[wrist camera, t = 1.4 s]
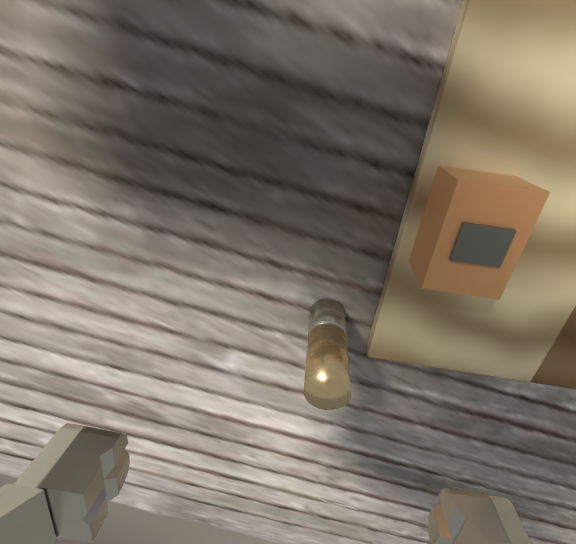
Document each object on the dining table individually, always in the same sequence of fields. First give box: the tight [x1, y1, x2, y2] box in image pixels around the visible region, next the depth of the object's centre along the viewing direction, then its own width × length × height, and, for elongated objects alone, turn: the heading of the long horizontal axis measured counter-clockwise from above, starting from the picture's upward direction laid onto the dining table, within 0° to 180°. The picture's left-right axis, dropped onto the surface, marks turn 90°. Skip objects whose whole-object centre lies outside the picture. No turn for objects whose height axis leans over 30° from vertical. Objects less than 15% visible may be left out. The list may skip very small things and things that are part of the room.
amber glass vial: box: [304, 299, 351, 410], centre depth 27 cm, size 3×3×9 cm
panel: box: [366, 0, 576, 389], centre depth 25 cm, size 26×22×1 cm
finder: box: [409, 165, 550, 300], centre depth 23 cm, size 7×5×4 cm
